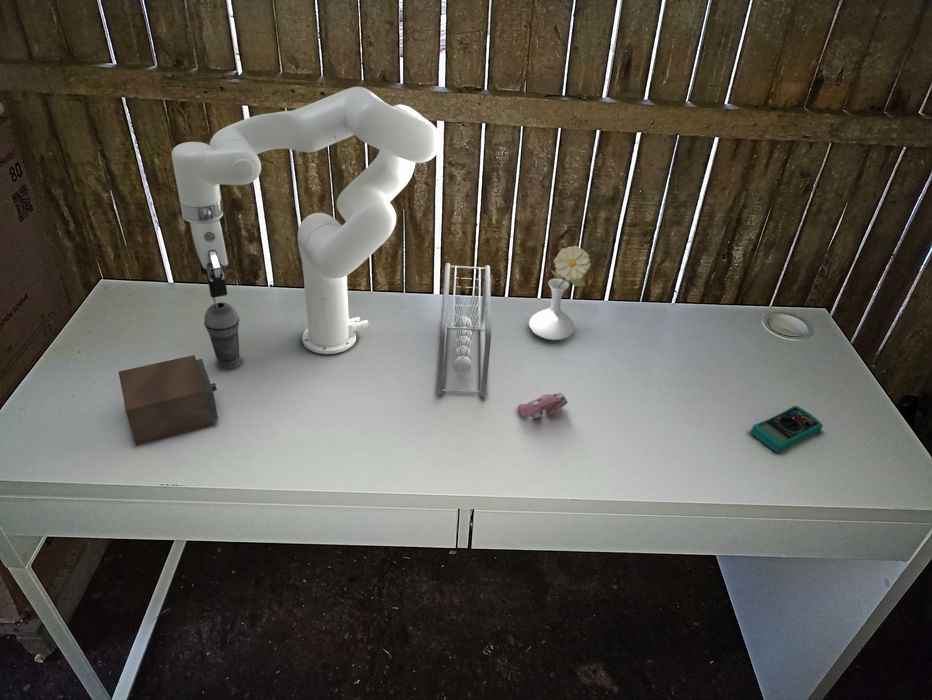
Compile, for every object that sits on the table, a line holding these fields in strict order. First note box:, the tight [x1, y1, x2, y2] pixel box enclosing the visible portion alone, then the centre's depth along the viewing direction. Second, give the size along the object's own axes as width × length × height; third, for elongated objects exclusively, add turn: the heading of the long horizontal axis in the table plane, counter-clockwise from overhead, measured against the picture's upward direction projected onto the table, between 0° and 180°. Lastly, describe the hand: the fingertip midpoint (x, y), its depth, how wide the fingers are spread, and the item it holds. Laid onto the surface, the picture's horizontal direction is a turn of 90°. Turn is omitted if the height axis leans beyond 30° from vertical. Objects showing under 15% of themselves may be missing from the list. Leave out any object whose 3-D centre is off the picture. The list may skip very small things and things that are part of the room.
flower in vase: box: [528, 245, 591, 341], centre depth 171 cm, size 13×11×25 cm
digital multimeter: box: [750, 405, 824, 454], centre depth 152 cm, size 7×15×3 cm, turn 122°
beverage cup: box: [203, 297, 241, 370], centre depth 155 cm, size 7×7×20 cm
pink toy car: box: [517, 392, 569, 419], centre depth 152 cm, size 10×5×7 cm, turn 117°
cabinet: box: [118, 354, 214, 446], centre depth 144 cm, size 15×13×9 cm
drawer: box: [196, 358, 219, 421], centre depth 145 cm, size 15×11×7 cm
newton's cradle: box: [436, 262, 492, 398], centre depth 163 cm, size 30×10×18 cm, turn 179°
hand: (214, 284), depth 149 cm, fingers open, 9 cm apart
